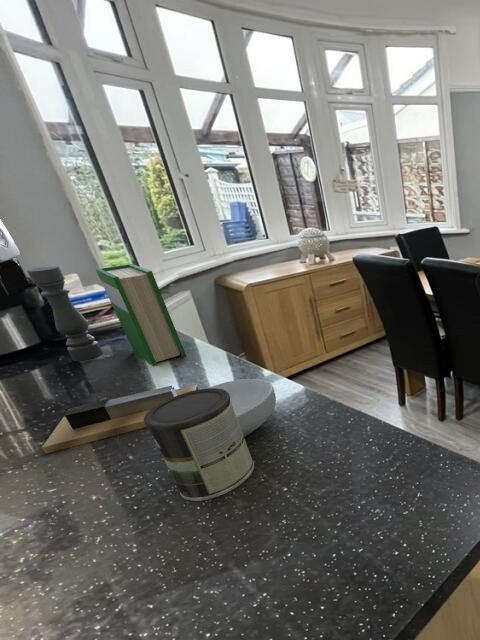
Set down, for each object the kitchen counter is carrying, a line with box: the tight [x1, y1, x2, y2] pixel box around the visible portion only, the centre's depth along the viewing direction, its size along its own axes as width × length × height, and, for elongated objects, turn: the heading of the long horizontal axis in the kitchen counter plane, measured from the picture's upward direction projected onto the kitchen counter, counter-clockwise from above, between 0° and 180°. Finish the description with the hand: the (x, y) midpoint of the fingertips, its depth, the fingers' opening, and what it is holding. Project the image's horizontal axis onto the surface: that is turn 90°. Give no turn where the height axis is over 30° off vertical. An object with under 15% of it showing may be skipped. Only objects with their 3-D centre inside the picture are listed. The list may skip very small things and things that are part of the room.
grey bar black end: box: [64, 384, 177, 429], centre depth 80 cm, size 16×3×3 cm, turn 123°
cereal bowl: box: [205, 378, 277, 438], centre depth 75 cm, size 17×17×7 cm
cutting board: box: [41, 384, 199, 455], centre depth 81 cm, size 22×12×2 cm, turn 123°
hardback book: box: [95, 263, 187, 367], centre depth 106 cm, size 18×7×24 cm, turn 54°
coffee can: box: [144, 387, 255, 502], centre depth 62 cm, size 10×10×14 cm
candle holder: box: [26, 265, 104, 362], centre depth 106 cm, size 6×6×25 cm
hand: (8, 291), depth 76 cm, fingers open, 9 cm apart
